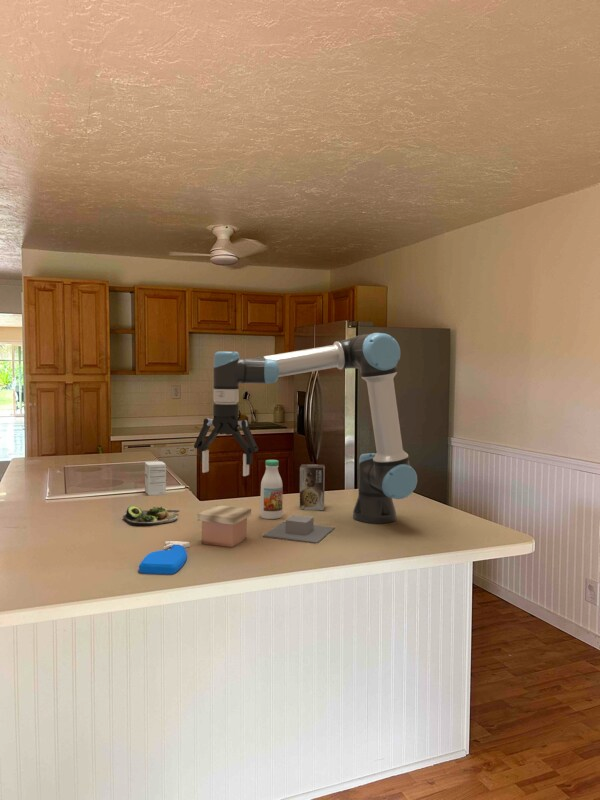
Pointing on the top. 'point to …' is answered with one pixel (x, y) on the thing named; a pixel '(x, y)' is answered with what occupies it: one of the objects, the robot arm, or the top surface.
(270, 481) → the milk bottle
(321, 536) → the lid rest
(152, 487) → the supplement box
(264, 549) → the top surface
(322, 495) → the coffee box
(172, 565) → the spray bottle
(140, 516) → the salad plate
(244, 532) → the open box
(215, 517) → the lid
